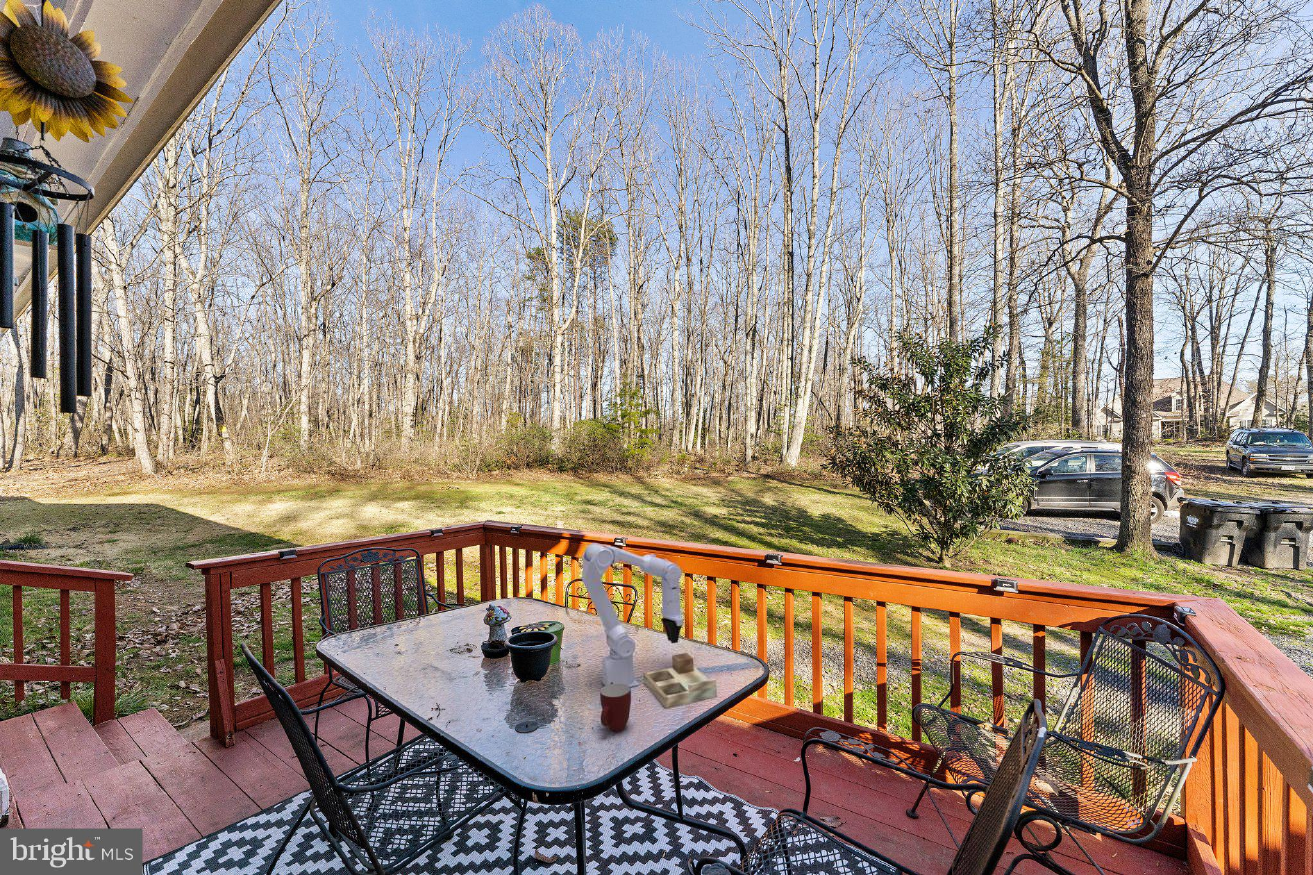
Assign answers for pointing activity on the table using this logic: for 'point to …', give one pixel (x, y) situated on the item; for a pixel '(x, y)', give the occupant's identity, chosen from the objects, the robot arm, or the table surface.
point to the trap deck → (679, 687)
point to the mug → (615, 706)
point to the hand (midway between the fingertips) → (673, 641)
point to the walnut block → (682, 663)
